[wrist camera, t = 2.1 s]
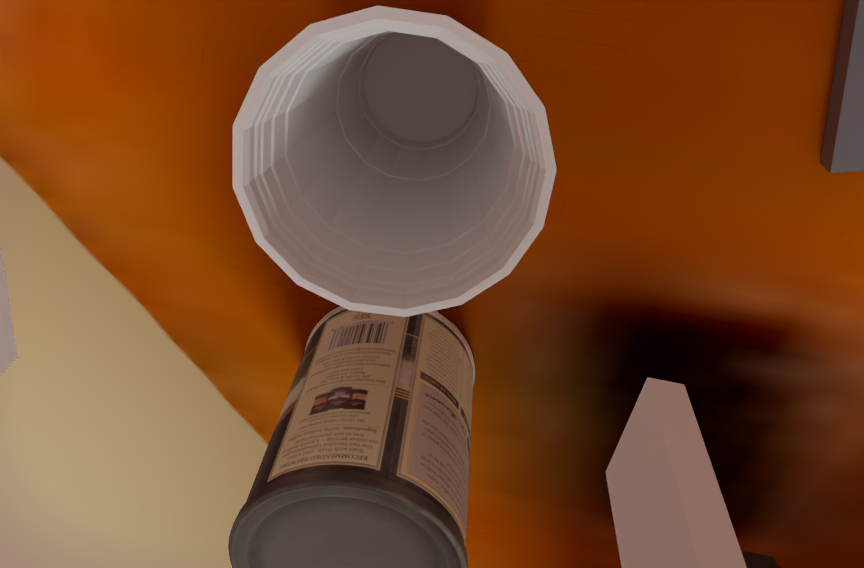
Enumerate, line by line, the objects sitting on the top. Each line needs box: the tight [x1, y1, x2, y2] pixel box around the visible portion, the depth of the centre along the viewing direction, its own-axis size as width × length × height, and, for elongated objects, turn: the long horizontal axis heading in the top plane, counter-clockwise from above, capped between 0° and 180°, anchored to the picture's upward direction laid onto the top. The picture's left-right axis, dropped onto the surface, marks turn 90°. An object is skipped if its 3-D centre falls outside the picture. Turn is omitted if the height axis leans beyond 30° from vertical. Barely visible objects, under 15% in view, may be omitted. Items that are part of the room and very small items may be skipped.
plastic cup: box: [232, 5, 557, 317], centre depth 29 cm, size 11×11×12 cm
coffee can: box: [229, 306, 475, 568], centre depth 37 cm, size 10×10×14 cm
